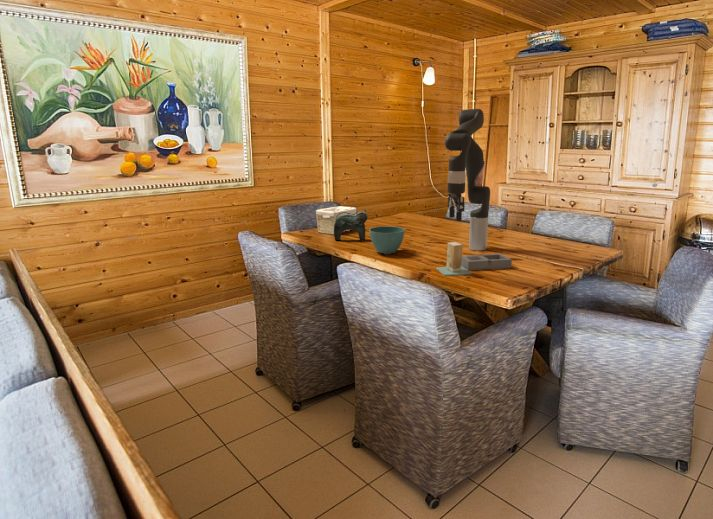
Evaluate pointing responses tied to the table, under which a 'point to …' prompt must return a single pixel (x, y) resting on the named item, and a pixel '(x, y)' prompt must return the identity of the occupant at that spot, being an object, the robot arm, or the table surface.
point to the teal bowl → (386, 238)
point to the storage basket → (331, 218)
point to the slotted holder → (485, 262)
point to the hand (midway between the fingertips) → (455, 219)
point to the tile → (449, 273)
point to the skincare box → (454, 256)
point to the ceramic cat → (351, 224)
